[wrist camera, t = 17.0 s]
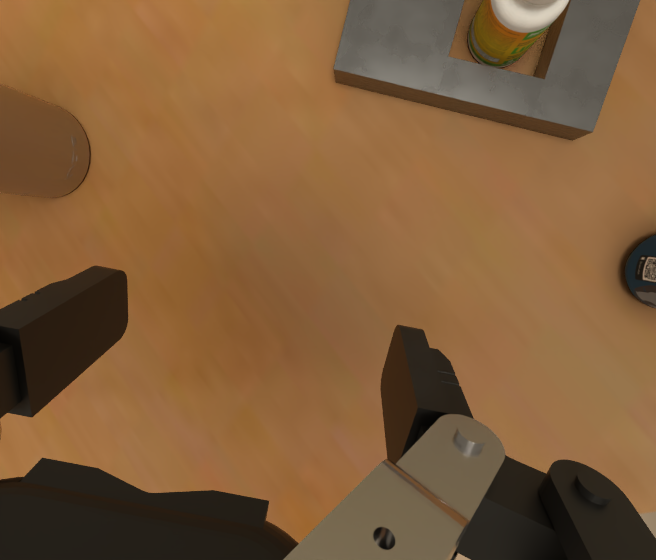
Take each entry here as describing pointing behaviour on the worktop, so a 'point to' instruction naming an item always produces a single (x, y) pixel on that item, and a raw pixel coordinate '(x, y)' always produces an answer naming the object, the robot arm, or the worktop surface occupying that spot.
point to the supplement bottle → (509, 28)
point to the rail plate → (480, 80)
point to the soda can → (643, 272)
